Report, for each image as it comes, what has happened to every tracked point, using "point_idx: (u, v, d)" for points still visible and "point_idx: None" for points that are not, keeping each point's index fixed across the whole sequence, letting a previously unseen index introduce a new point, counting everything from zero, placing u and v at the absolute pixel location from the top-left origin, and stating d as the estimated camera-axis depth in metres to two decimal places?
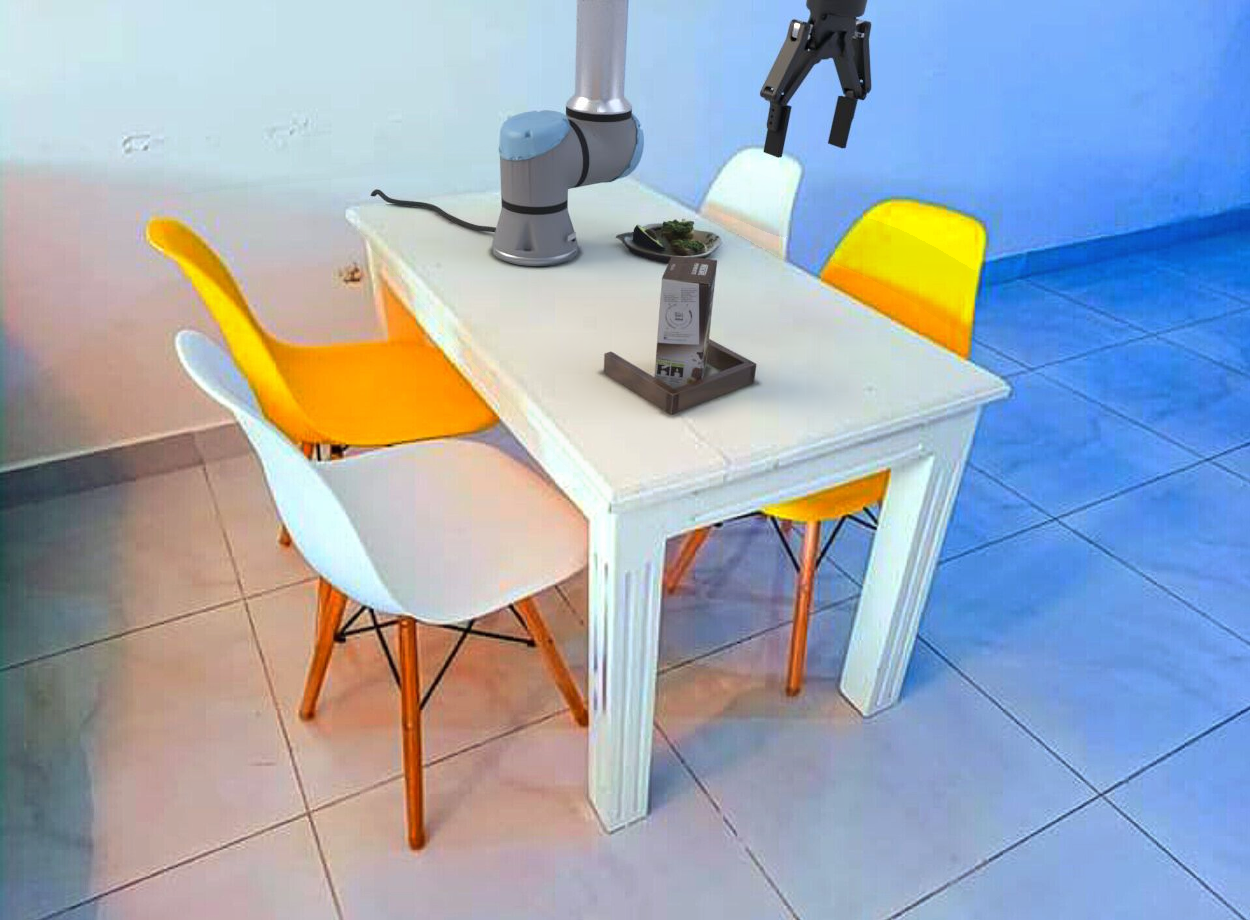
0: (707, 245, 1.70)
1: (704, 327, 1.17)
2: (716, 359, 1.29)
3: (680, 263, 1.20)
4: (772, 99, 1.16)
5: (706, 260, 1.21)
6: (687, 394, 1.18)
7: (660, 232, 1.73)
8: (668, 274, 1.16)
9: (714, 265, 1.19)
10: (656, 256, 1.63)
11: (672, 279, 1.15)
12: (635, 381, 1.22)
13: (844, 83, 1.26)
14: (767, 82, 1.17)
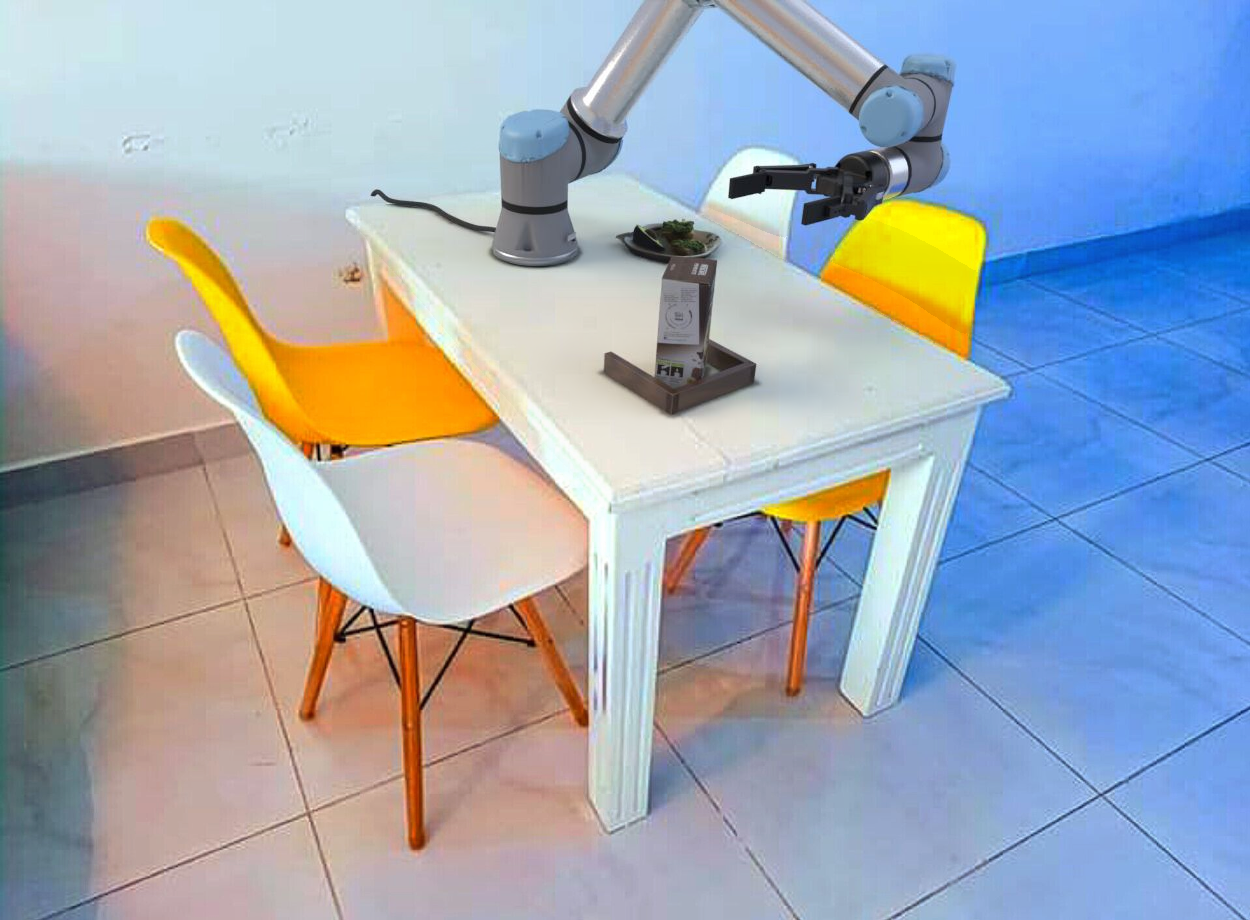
0: (707, 245, 1.70)
1: (704, 327, 1.17)
2: (716, 359, 1.29)
3: (680, 263, 1.20)
4: (860, 218, 1.20)
5: (706, 260, 1.21)
6: (687, 394, 1.18)
7: (660, 232, 1.73)
8: (668, 274, 1.16)
9: (714, 265, 1.19)
10: (656, 256, 1.63)
11: (672, 279, 1.15)
12: (635, 381, 1.22)
13: (777, 178, 1.30)
14: (868, 202, 1.20)
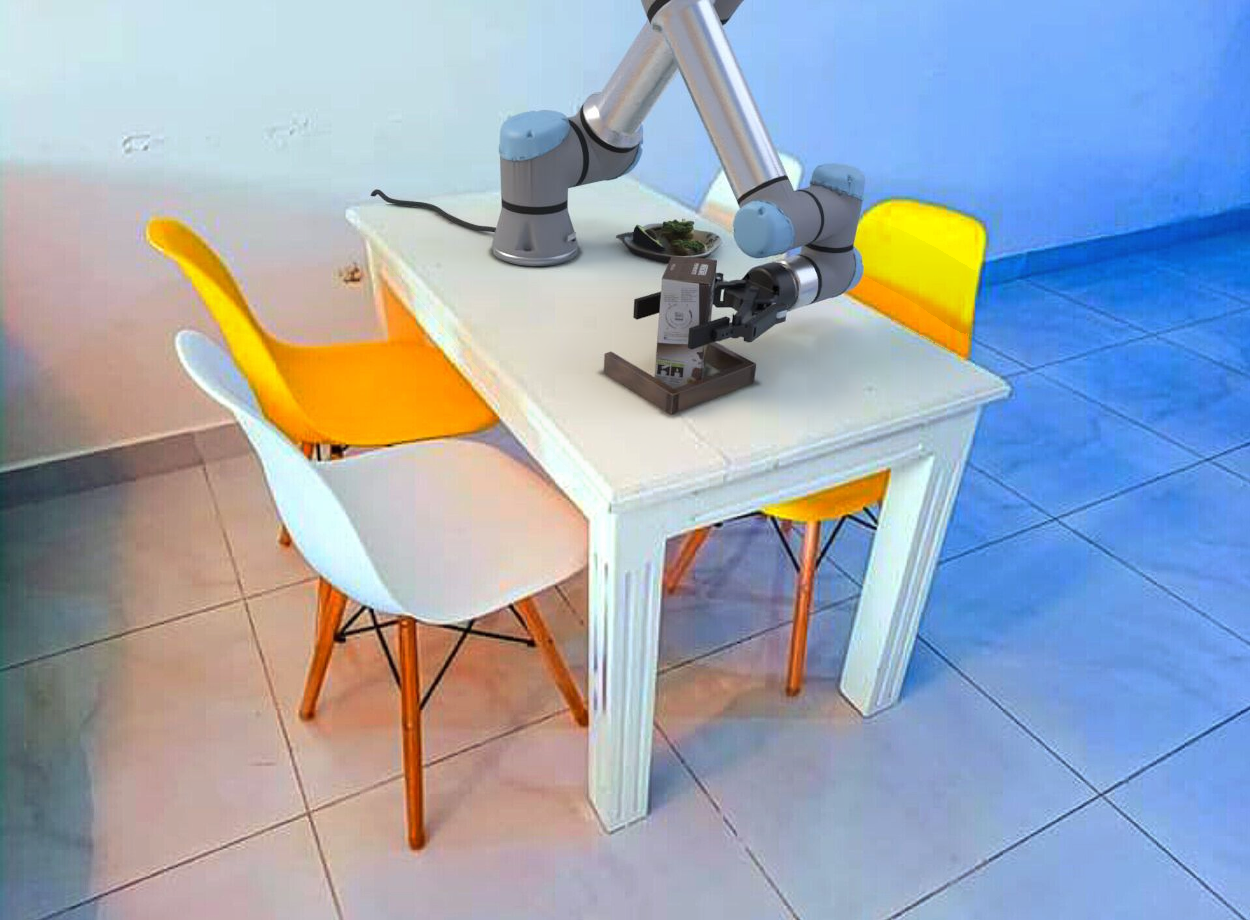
0: (707, 245, 1.70)
1: None
2: (716, 359, 1.29)
3: (680, 263, 1.20)
4: (748, 340, 1.18)
5: (706, 260, 1.21)
6: (687, 394, 1.18)
7: (660, 232, 1.73)
8: (668, 274, 1.16)
9: (714, 265, 1.19)
10: (656, 256, 1.63)
11: (672, 279, 1.15)
12: (635, 381, 1.22)
13: None
14: (758, 324, 1.18)
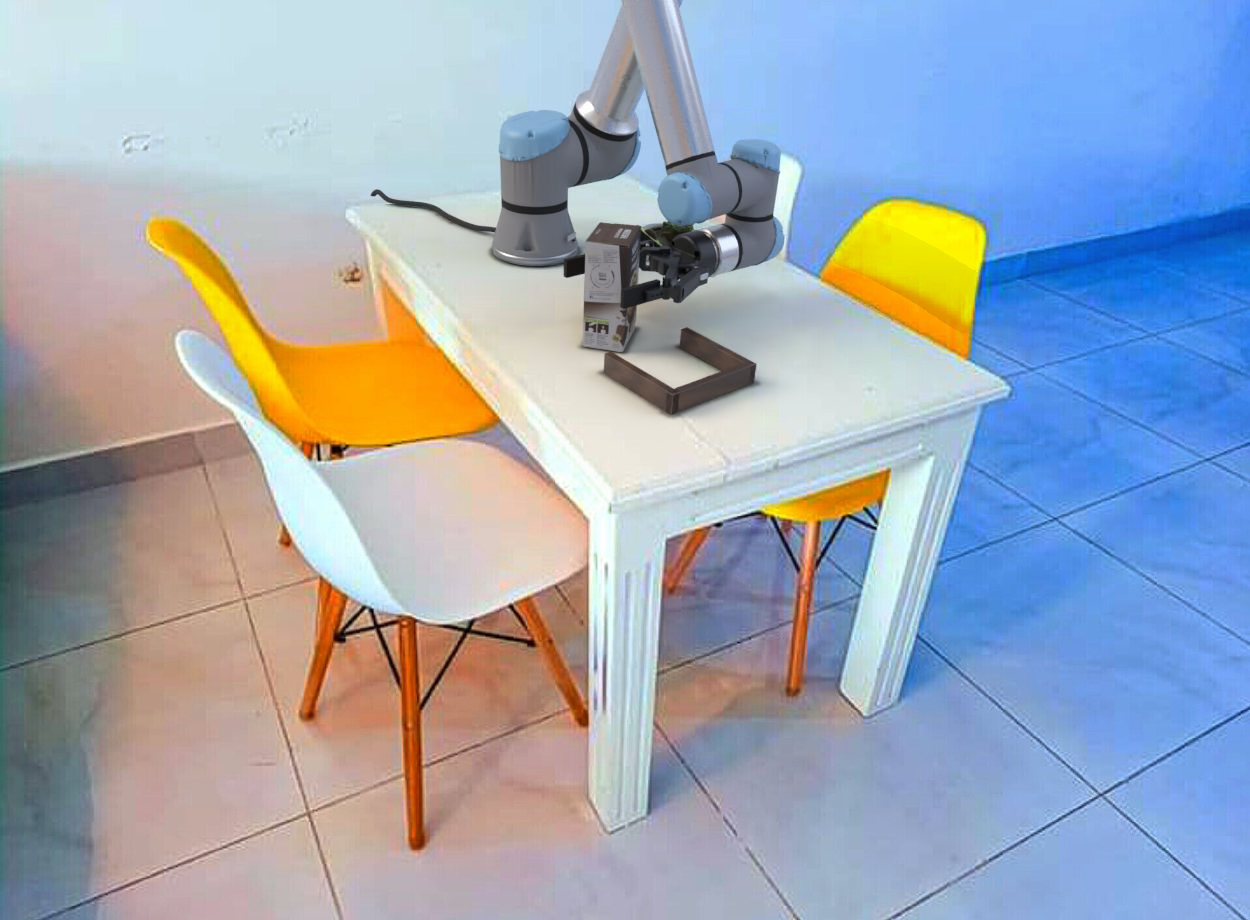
0: None
1: (626, 286, 1.27)
2: (716, 359, 1.29)
3: (605, 228, 1.30)
4: (677, 301, 1.28)
5: (631, 226, 1.31)
6: (687, 394, 1.18)
7: (660, 232, 1.73)
8: (592, 238, 1.26)
9: (637, 230, 1.29)
10: None
11: (595, 241, 1.25)
12: (635, 381, 1.22)
13: None
14: (685, 286, 1.28)
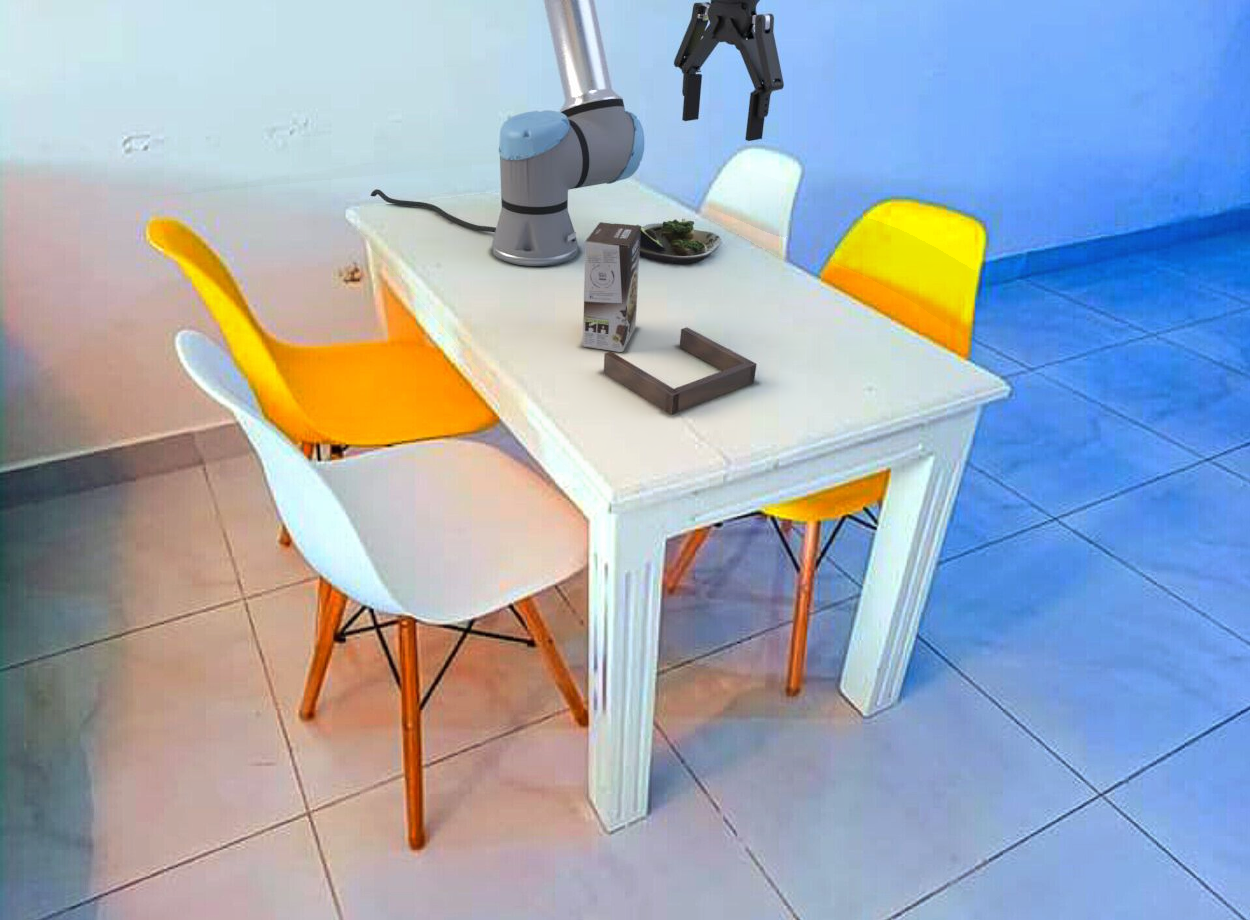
0: (707, 245, 1.70)
1: (626, 286, 1.27)
2: (716, 359, 1.29)
3: (605, 228, 1.30)
4: None
5: (631, 226, 1.31)
6: (687, 394, 1.18)
7: (660, 232, 1.73)
8: (592, 238, 1.26)
9: (637, 230, 1.29)
10: (656, 256, 1.63)
11: (595, 241, 1.25)
12: (635, 381, 1.22)
13: None
14: None
